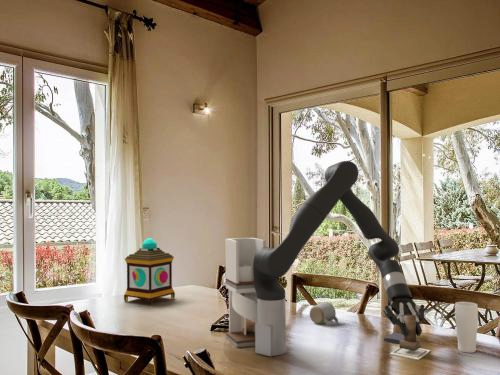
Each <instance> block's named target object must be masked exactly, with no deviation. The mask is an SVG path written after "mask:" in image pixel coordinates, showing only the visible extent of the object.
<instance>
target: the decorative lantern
mask: <svg viewBox="0 0 500 375" xmlns="http://www.w3.org/2000/svg"><path fill="white" fill-rule="evenodd" d="M157 245H158V244H157V242H156V240H154V239H153V238H151V237H150V238H146V239H145V240H144V241H143V242H142V245H141V247H140V248H138V250H137V251H135V252H133V253H131V254H129V255H127V256H126V257H125V258H124V261H125V263H126V275H127V276H126V290H125V293H124V295H123V300H124V302H126V303H127V302H129V301H128V300H129V298H134V299H142V300H147V301H148V305H149V306H152V305H153V300H154V299H158V298H162V297H167V296H170V298H171V300H174V299H175V297H176V293H175V291H174V288H173V283H172V282H173V280H172V279H173V272H172V270H173V269H172V268H173V261H174V258H175V257H174V256H173V255H172V254H170V252H165V251H163V250H162V249H161V248H160V247H157Z"/></svg>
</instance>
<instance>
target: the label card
mask: <svg viewBox="0 0 500 375" xmlns="http://www.w3.org/2000/svg"><path fill="white" fill-rule="evenodd" d="M431 351H432V350H431V349H427V348H426V349H425V348H421V347H420V348H419V349H417V350H416V351H413V350H408V349H403V348H400V346H399V347H397V348H396V349H395V350H393V351H391V352H390V353H389V355H390V356H395V357H400V358H406V359H411V360H415V361H419V360H421V359H422V358H423V357H425V356H426V355H427V354H429V353H430V352H431Z"/></svg>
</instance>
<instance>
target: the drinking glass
mask: <svg viewBox="0 0 500 375" xmlns="http://www.w3.org/2000/svg"><path fill="white" fill-rule="evenodd" d="M478 306H479V305H478V303H475V302H470V301H456V302H455V303H454V317H455V319H454V320H455V328H456V329H455V330H456V336H457V338H456V339H457V350H459V352H462V353H466V352H467V353H468V354H472V353H475V352H476V351H477V337H478V327H479V326H478V323H479V322H478V321H479V307H478ZM467 353H466V354H467Z"/></svg>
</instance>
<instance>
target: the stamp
mask: <svg viewBox="0 0 500 375" xmlns="http://www.w3.org/2000/svg"><path fill="white" fill-rule="evenodd" d="M416 316H417V315H416ZM416 316H415V315H410V314H407V315H404V323H405V324H406V327H407V330H408V335H407V336H406V337H404V338H403V339H402V340H400V341H399V344H398V345H399V347H400V348H403V349H408V350H413V351H416V350H417V349H419V348H421V347H422V340H421V339H417V335H416Z"/></svg>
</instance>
